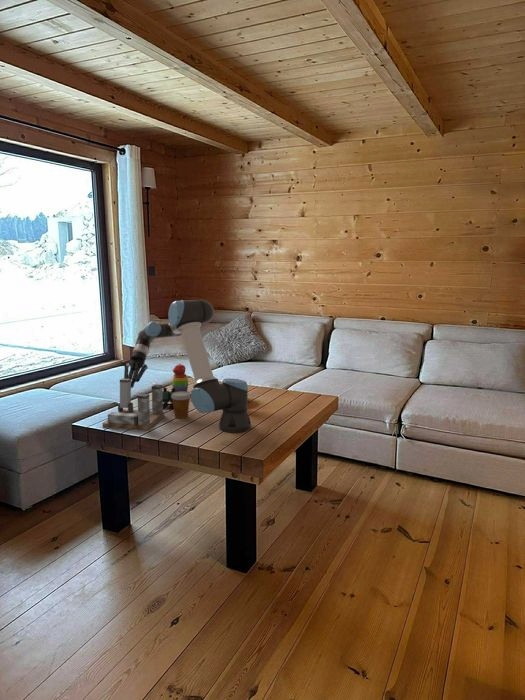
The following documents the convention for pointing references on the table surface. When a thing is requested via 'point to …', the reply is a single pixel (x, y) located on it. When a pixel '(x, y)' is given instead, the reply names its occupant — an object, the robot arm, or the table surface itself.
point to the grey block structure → (138, 412)
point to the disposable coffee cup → (181, 404)
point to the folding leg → (125, 392)
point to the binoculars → (168, 398)
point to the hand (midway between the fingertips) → (127, 392)
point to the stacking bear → (180, 378)
